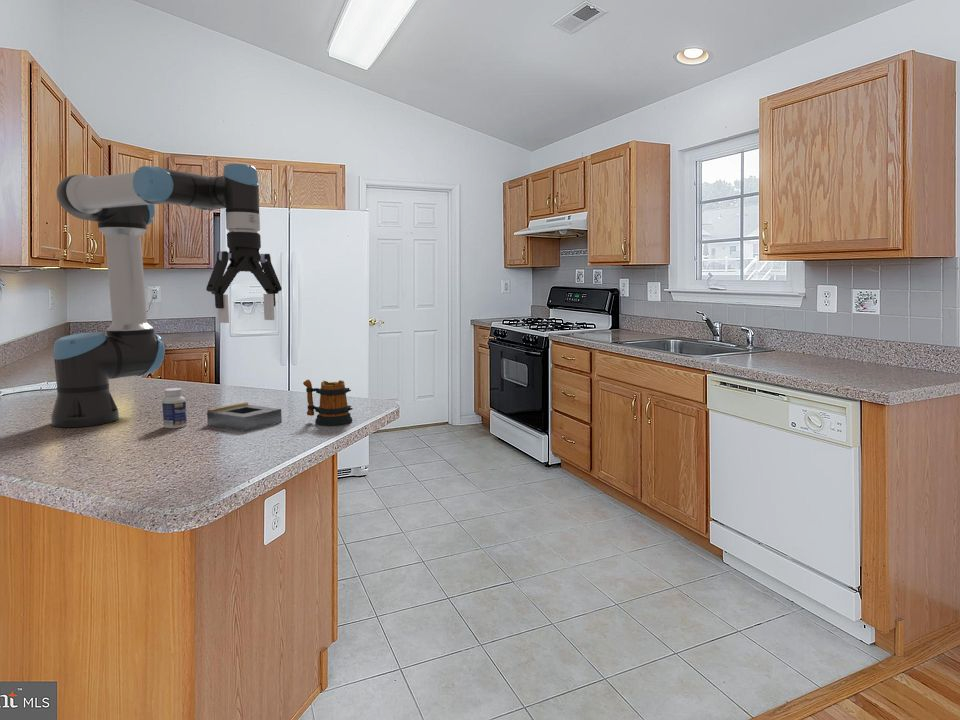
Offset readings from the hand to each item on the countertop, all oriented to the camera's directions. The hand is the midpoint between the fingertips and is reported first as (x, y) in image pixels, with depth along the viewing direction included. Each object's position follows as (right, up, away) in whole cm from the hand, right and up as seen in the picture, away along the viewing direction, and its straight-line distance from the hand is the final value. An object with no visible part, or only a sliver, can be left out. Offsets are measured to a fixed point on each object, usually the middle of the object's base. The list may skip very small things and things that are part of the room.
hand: (247, 321), depth 149 cm
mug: (+16, -26, +15) cm, 34 cm away
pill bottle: (-22, -27, +10) cm, 36 cm away
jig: (-5, -26, +13) cm, 30 cm away
